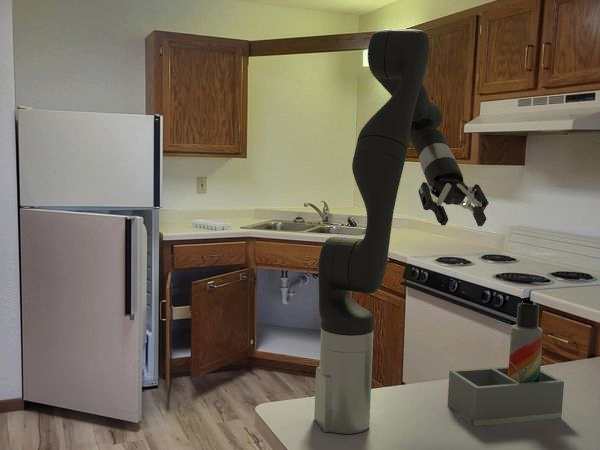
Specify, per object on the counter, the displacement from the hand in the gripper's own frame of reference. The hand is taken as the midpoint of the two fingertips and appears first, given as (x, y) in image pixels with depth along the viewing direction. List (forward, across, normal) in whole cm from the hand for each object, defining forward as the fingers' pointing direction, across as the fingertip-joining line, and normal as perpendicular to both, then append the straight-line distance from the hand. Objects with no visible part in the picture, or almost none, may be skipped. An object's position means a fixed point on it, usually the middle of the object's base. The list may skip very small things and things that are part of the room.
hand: (464, 223), depth 121 cm
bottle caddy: (+34, +3, +16) cm, 37 cm away
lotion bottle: (+33, +8, +15) cm, 37 cm away
